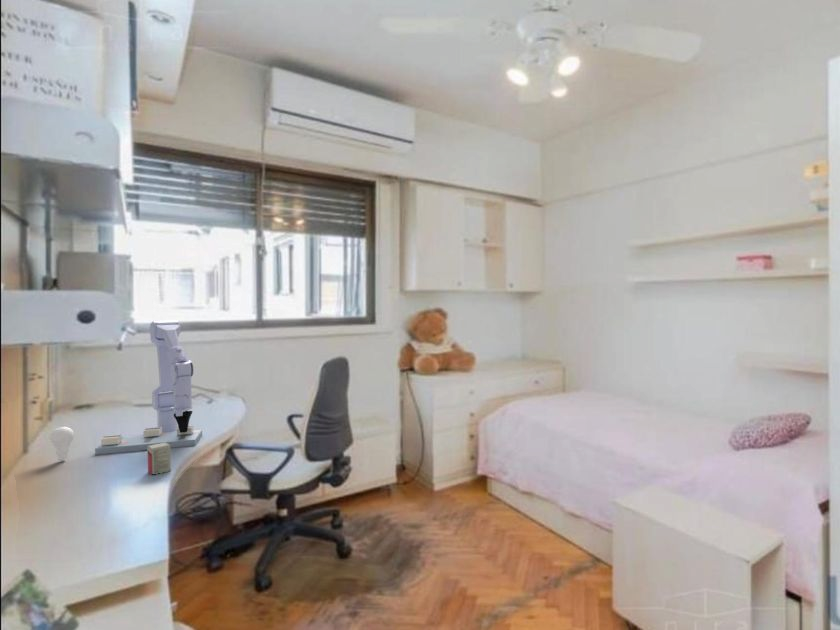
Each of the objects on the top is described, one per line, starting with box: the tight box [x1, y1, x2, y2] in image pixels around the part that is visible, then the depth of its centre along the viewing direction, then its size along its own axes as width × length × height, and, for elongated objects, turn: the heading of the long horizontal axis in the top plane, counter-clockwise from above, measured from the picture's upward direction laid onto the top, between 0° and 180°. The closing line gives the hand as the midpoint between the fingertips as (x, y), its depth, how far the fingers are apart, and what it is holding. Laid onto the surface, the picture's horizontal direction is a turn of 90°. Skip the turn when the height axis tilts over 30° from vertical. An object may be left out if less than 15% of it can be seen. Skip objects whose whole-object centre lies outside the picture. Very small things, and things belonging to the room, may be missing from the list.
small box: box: [146, 443, 172, 475], centre depth 136 cm, size 5×4×8 cm
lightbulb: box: [49, 426, 75, 462], centre depth 148 cm, size 6×6×11 cm
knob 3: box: [177, 424, 195, 435], centre depth 172 cm, size 4×5×2 cm
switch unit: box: [94, 429, 203, 456], centre depth 166 cm, size 15×30×2 cm, turn 107°
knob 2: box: [143, 426, 162, 437], centre depth 170 cm, size 4×5×2 cm
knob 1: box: [100, 434, 123, 446], centre depth 160 cm, size 4×5×2 cm
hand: (183, 432), depth 169 cm, fingers closed
